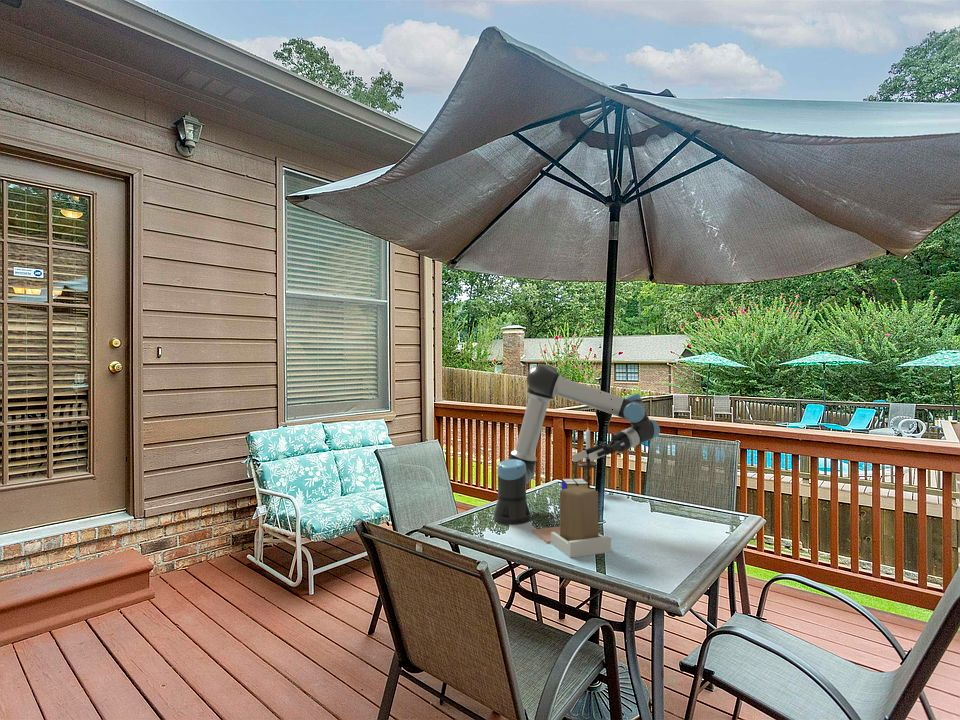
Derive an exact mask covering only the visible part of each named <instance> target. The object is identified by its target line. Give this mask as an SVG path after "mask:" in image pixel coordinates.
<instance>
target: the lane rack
mask: <svg viewBox="0 0 960 720" xmlns="http://www.w3.org/2000/svg"><path fill="white" fill-rule="evenodd" d="M598 535H599V537H596V538H588V539H581V540H573V541H567V540H565V539H564V538H562V537H561V536H559V535H558V534H557V533H555V532H551V543H552V545H553V546H554V547H555V546H556V547H555V548H557V549H558V548H559V549H560V550H559V549H558V550H559V551H560V552H562V551H563V552H564V554H565V555H566V556H567V555H568V556H567V557H569V558H571V557H572V558H579V557H585V556H592V555H598V554H599V555H600V554H606V553H612V537H611V536H609V535H607V536H606V535H602V534H601V533H599V532H598ZM551 543H550V544H551ZM563 552H562V553H563Z"/></svg>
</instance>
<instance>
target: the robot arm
mask: <svg viewBox="0 0 960 720" xmlns="http://www.w3.org/2000/svg"><path fill="white" fill-rule="evenodd" d="M526 382H527V385H528V387H527V389H526V390H527V391H526V393H527V395H528V400H527V404H526V408H525V411H524V414H523V415H524V416H523V419H522V423H521V427H520V431H519V433H518V438H517V442H516V446H515V448H514V449H513V450H511V451H510V454H509V458H508V459H506V460H502V461H500V462H499V463H498V464H497V470H496V471H497V472H496V474H497V501H496V504H495V508H494V511H493V520H494V521H496V522H497V523H500V524H504V525H520V524H521V525H522V524H525V523H529V522H530V521H531V519H532V518H531V511H530V508H529V504H528V502H527V485H528V484H529V483H530V482H531V481H532V480H533V478H534V477H535V473H536V468H535V467H536V464H537V456H536V455H535V454H536V451H537V447H538V442H539V439H540V435H541V432H542V428H543V425H544V424H543V423H544V421H545V418H546V414H547V409H548V406H549V402H551V401H553V400H554V398H555V397H557V396H558V397H560V398H563V399H566V400H569V401H571V402H575V403H578V404H581V405H584V406H587V407H590V408H592V409H595V410H598V411H601V412H605V413H607V414H610V415H614V416H615V417H619V418H621V419H624V420H627V422H629V424H630V425H631V426H630V427H628V428H625V429H623V430H621V431H619V432H615V433H614V434H612V436H611V440H607V441H608V444H607V441H605V442H606V443H604V442H603V444H602V443H600V444H601V447H600V446H598V445H599V444H598V445H595V446H592V447H591V446H590V448H588V449H586V448H584V449H583V450H582V451H580V452H578V453H574V454H572V455H571V458H572V462H573V463H576V462H580V461H581V460H584V459H585V458H586V457H587V458H588V456H589V459H590V461H591V462H594V461H596V460H598V459H600V458H602V457H605V456H608V455H609V454H610V455H613V454H614V453H615V452H619V453H622V452H625V451H628V450H629V449H635V448H636V446H639V445H642V444H644V443H647V442H649V441H652V440H653V439H654V438H657V437H658V436H659V435H660V432H661V429H660V425H659V424H658V423H657V421H656V420H655V419H653V418H652V419H650V418H649V416H648V413H647V410H646V408H645V405H644V401H643V400H642V397H641V395H640V394H639V393H634V394H631V395H628V396H626V397H621V396H618V395H615V394H613V393H610V392H606V391H603V390H600V389H598V388H595V387H592V386H588V385H585V384H582V383H579V382H577V381H573V380H571V379H567V378H564V377H563V376H562V374H560V373H559V372H558V370H557V369H556V368H555V367H554V366H553V365H550V364H538V365H535V366H533V367H532V368H531V369H530V370H529V371H528V373H527V375H526ZM600 392H601V394H600ZM611 399H612V400H611ZM612 409H613V410H612ZM604 444H605V445H604ZM602 445H604V446H602Z"/></svg>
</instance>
